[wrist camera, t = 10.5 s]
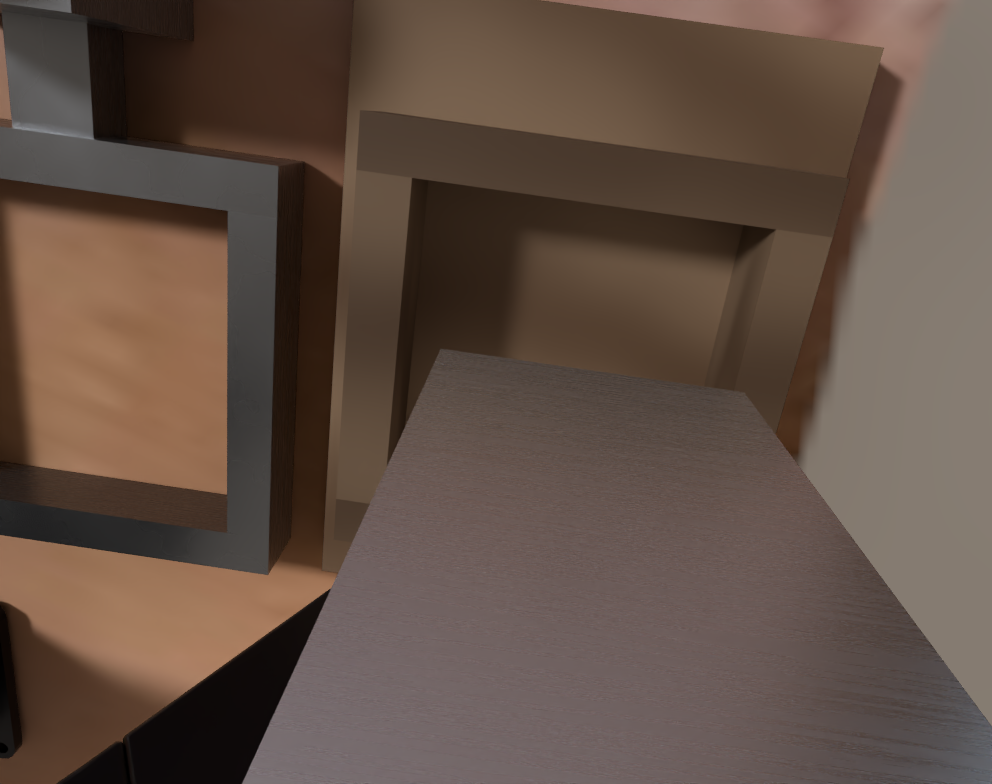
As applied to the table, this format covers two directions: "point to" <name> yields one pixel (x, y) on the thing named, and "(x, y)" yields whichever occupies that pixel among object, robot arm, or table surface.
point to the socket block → (251, 287)
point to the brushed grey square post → (609, 607)
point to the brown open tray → (576, 206)
